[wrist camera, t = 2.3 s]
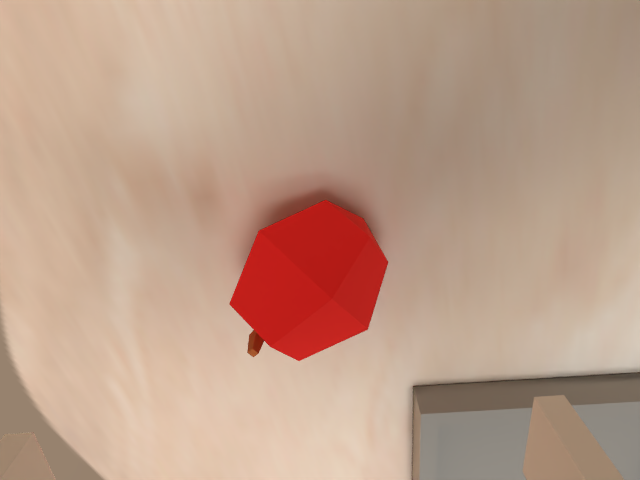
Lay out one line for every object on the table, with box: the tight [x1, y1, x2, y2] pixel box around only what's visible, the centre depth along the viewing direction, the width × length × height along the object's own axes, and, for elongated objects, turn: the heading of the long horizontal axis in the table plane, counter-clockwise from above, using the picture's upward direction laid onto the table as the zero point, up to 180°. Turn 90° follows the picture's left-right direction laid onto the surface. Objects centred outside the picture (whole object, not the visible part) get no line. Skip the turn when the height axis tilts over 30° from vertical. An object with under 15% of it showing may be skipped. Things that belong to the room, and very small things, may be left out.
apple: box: [230, 200, 388, 361], centre depth 21 cm, size 7×7×8 cm
